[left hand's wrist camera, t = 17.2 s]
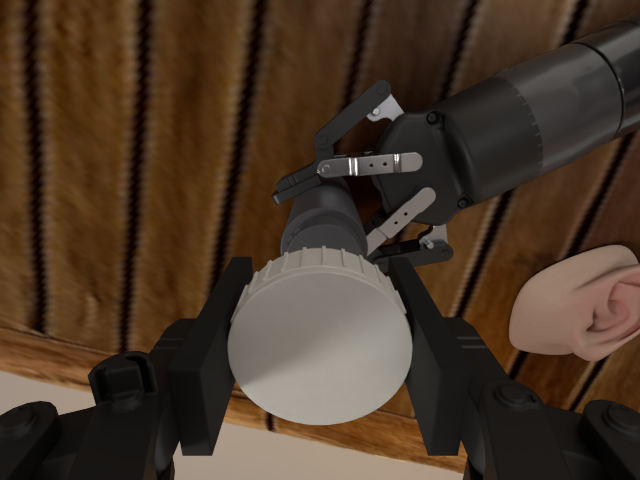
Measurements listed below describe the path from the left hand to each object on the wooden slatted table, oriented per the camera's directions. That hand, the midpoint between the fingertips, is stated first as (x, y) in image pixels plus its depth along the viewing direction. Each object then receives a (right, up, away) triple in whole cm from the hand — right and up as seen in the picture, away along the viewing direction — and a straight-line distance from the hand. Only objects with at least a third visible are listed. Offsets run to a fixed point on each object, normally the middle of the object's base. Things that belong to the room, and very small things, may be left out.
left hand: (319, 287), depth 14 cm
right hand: (-2, +3, +12) cm, 13 cm away
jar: (0, +6, +18) cm, 19 cm away
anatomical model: (+26, -5, +21) cm, 34 cm away
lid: (0, -1, -4) cm, 4 cm away
